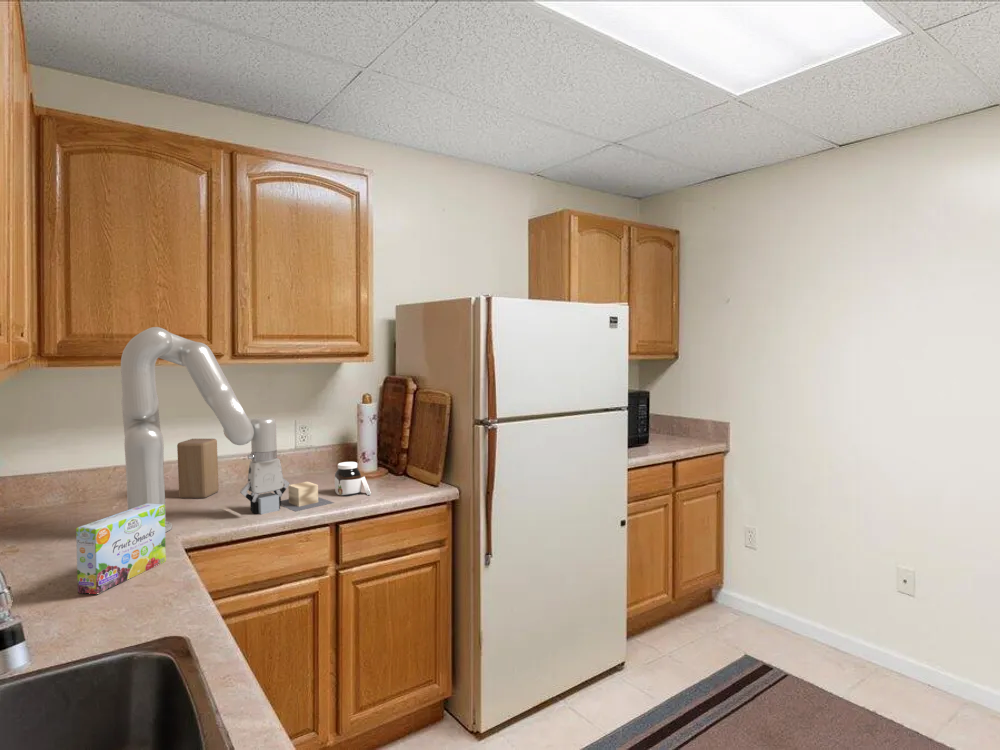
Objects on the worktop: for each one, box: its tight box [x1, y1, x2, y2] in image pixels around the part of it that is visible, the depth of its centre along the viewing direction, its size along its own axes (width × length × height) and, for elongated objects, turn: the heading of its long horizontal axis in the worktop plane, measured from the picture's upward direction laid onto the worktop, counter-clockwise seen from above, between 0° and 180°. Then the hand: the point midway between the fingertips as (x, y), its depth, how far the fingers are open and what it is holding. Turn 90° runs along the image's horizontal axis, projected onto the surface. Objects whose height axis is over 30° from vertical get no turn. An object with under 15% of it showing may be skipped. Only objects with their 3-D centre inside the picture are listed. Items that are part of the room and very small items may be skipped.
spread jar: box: [334, 461, 372, 497], centre depth 216 cm, size 12×11×12 cm
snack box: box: [75, 503, 167, 595], centre depth 143 cm, size 21×6×15 cm, turn 170°
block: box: [176, 438, 220, 499], centre depth 218 cm, size 10×10×20 cm
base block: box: [287, 481, 319, 506], centre depth 204 cm, size 7×7×6 cm
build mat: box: [280, 496, 335, 512], centre depth 204 cm, size 14×16×1 cm
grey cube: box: [256, 491, 280, 515], centre depth 194 cm, size 6×6×6 cm
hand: (266, 510), depth 194 cm, fingers open, 6 cm apart
